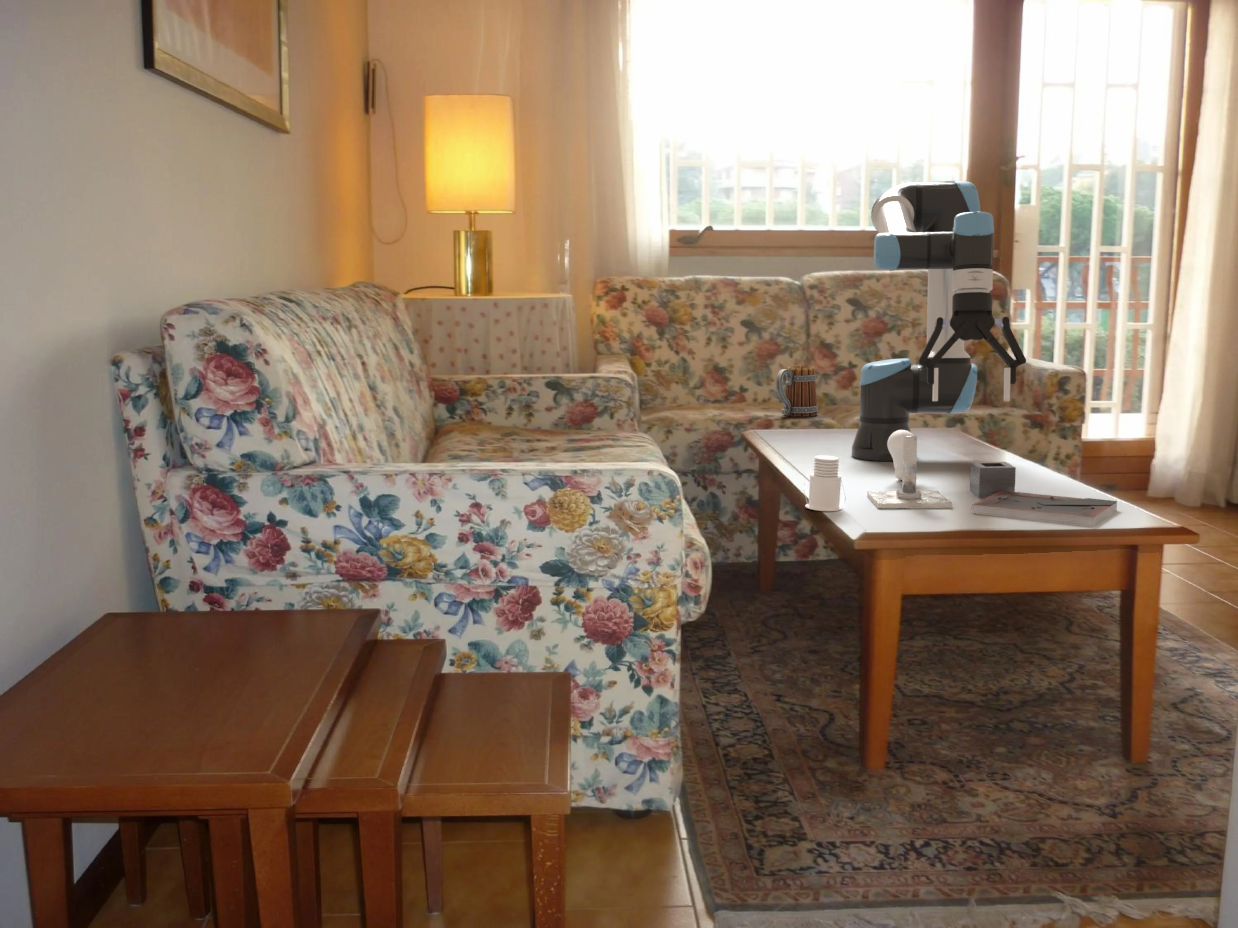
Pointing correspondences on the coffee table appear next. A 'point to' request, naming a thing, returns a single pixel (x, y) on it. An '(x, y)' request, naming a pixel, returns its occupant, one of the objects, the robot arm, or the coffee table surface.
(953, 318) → the robot arm
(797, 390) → the mug
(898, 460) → the lightbulb
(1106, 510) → the picture frame
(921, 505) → the shaft
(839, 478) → the downlight
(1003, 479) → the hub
